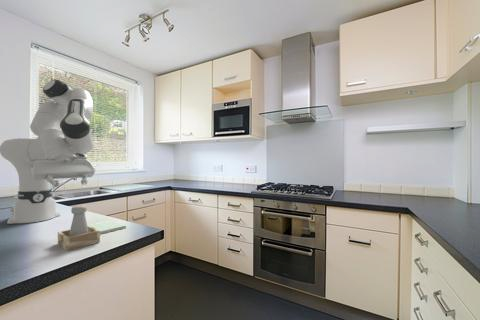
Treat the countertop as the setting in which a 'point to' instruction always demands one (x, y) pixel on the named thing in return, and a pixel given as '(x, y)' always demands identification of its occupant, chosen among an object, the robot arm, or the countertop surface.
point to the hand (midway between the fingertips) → (71, 184)
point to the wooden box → (78, 239)
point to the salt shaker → (78, 221)
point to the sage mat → (107, 226)
